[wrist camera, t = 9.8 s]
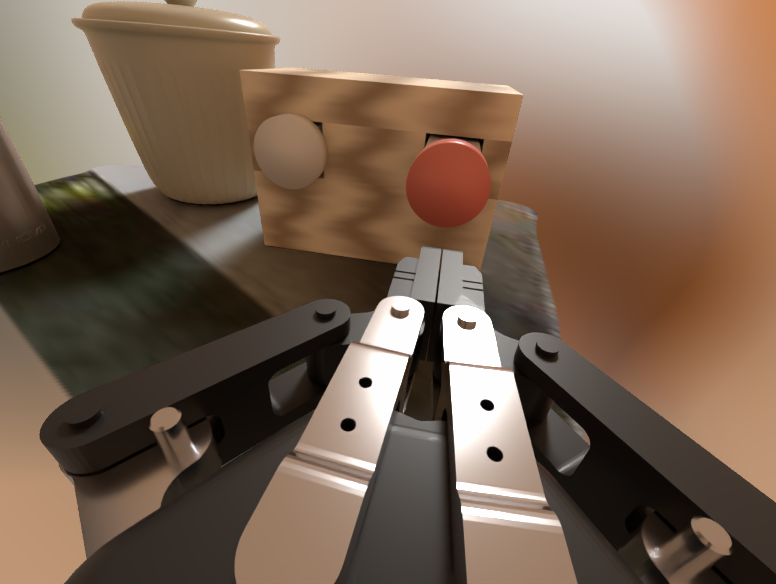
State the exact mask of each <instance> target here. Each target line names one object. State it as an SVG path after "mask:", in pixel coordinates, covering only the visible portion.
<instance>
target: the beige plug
mask: <svg viewBox="0 0 776 584" xmlns="http://www.w3.org/2000/svg"><path fill="white" fill-rule="evenodd" d="M254 153H255V157H256V160H257V163H258V165H259V167H260V168H261V170H262V171H263V173H264V174H265V175H266V176H267V177H268V178H269V179H270V180H271V181H272V182H273V183H275V184H277V185H278V186H280V187H283V188H286V189H292V190H296V189H302V188H304V187H307V186H308V185H310V184H311V183H312V182H313V181H315V180H316V179H317V178H318V177H319V176H320V175H321V174H322V173H323V172H324V169H325V167H326V164H327V159H328V151H327V145H326V142H325V139H324V137H323V129H322V122H314V121H311V120H309V119H308V118H306V117H304V116H302V115H299V114H296V113H284V114H281V115H277V116H274V117H271V118H269V119H267V120H265V121H264V122H263V123H262V124H261V125H260V126H259V128H258V129H257V132H256V134H255V138H254Z"/></svg>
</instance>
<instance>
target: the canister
mask: <svg viewBox="0 0 776 584" xmlns="http://www.w3.org/2000/svg"><path fill="white" fill-rule="evenodd" d="M165 1H166V2H167V4H161V3H148V2H101V3H95V4H92V5H89V6H87V7H86V8H85V9H84V11H83V14H82V18H73V19H72V23H73V24H74V25H75V26H76V27H77V28H79V29H81V30H83V31H84V33H85V35H86V37H87V39H88V41H89V44H90V46H91V48H92V51H93V53H94V55H95V58H96V60H97V63H98V65H99V67H100V70H101V72H102V74H103V76H104V79H105V81H106V83H107V85H108V87H109V90H110V92H111V94H112V96H113V99H114V101H115V103H116V106H117V108H118V110H119V113H120V115H121V117H122V119H123V122H124V124H125V126H126V128H127V130H128V133H129V135H130V137H131V139H132V141H133V143H134V146H135V148H136V150H137V152H138V154H139V156H140V158H141V161H142V163H143V165H144V167H145V169H146V171H147V173H148V175H149V176H150V178H151V180H152V181H153V183H154V184H155V186H156V187H157V188H158V189H159V190H160V191H161V192H162V193H164V194H165V195H167V196H168V197H170V198H172V199H174V200H179V201H181V202H187V203H195V204H223V203H231V202H237V201H243V200H245V199H250V198H251V197H255V196H257V188H256V181H255V174H254V168H253V161H252V154H251V147H250V140H249V133H248V126H247V119H246V112H245V106H244V99H243V92H242V85H241V78H240V71H239V70H251V69H273V68H275V58H274V48H275V45H276V44H278V43H279V42H280V38H279V37H278V36H273V35H271V32H270V31H269V29H268V28H267V27H266V26H265V25H264V24H263V23H261V22H260V21H258V20H255V19H252V18H250V17H246V16H242V15H238V14H234V13H229V12H223V11H218V10H212V9H205V8H198V7H194V5H195V4H196V2H197V0H165Z"/></svg>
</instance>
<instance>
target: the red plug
mask: <svg viewBox="0 0 776 584" xmlns="http://www.w3.org/2000/svg"><path fill="white" fill-rule="evenodd" d="M490 190H491V178H490V173H489V169H488V165H487V162H486V160H485V158H484V156H483V155H482V153H481V148H480V143H479V138H470V137H460V136H451V135H441V134H431V135H430V138H429V140H428V142H427V145H426V147H425V148H424V149H423V150H422V151H421V152H420V153H419V154H418V156H417V157H416V158H415V160H414V162H413V164H412V166H411V168H410V170H409V173H408V176H407V180H406V195H407V199H408V202H409V204H410V206H411V208H412V210H413V211H414V212H415V214H416V215H417V216H418V217H419V218H421V219H422V220H423V221H425V222H426V223H429V224H431V225H433V226H437V227H444V228H450V227H457V226H460V225H463V224H465V223H467V222H469V221H471V220H472V219H474V218H475V217H476V216H477V215H478V214H479V213H480V212H481V211H482V209H483V208H484V206H485V205H486V203H487V201H488V198H489V195H490Z"/></svg>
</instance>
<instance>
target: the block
mask: <svg viewBox="0 0 776 584" xmlns="http://www.w3.org/2000/svg"><path fill="white" fill-rule="evenodd" d="M239 71H240V78H241V85H242V92H243V99H244V106H245V112H246V119H247V126H248V133H249V140H250V147H251V154H252V161H253V168H254V174H255V181H256V188H257V195H258V202H259V209H260V216H261V223H262V229H263V236H264V243H265V245H269V246H275V247H282V248H289V249H296V250H303V251H310V252H317V253H324V254H331V255H338V256H345V257H351V258H358V259H365V260H372V261H379V262H386V263H393V264H398V262H400V261H401V260H402V259H404V258H405V257H412V258H419V257H420V252H421V248H422V246H427V247H434V248H441V256H440V263H441V257H442V251H443V249H449V250H456V251H463V265H468V266H475V267H476V268H477V269H478V270H479V272H480V270H481V265H482V261H483V257H484V253H485V249H486V245H487V241H488V237H489V233H490V229H491V225H492V221H493V217H494V213H495V208H496V204H497V200H498V196H499V192H500V188H501V184H502V180H503V176H504V171H505V168H506V164H507V159H508V155H509V151H510V147H511V143H512V139H513V135H514V131H515V127H516V123H517V119H518V115H519V111H520V107H521V103H522V99H523V95H522V94H521V93H519V92H517V91H516V90H514V89H512V88H511V87H509V86H504V85H492V84H481V83H469V82H457V81H445V80H434V79H422V78H410V77H398V76H386V75H375V74H362V73H352V72H340V71H328V70H316V69H305V68H273V69H251V70H239ZM284 113H296V114H299V115H302V116H304V117H306V118H308V119H309V120H311V121H314V122H322V129H323V137H324V139H325V142H326V145H327V151H328V159H327V164H326V167H325V169H324V172H323V173H322V174H321V175H320V176H319V177H318V178H317V179H316V180H315V181H313V182H312V183H311V184H310V185H308V186H307V187H304V188H302V189H296V190H292V189H286V188H283V187H280V186H278V185H277V184H275V183H273V182H272V181H271V180H270V179H269V178H268V177H267V176H266V175H265V174H264V173H263V171H262V170H261V168H260V167H259V165H258V163H257V160H256V157H255V153H254V138H255V134H256V132H257V129H258V128H259V126H260V125H261V124H262V123H263V122H264V121H265V120H267V119H269V118H271V117H274V116H277V115H281V114H284ZM431 134H441V135H451V136H460V137H470V138H479V143H480V148H481V153H482V155H483V156H484V158H485V160H486V162H487V165H488V169H489V173H490V178H491V190H490V195H489V198H488V201H487V203H486V205H485V206H484V208H483V209H482V211H481V212H480V213H479V214H478V215H477V216H476V217H475V218H474V219H472V220H471V221H469V222H467V223H465V224H463V225H460V226H457V227H450V228H444V227H437V226H433V225H431V224H429V223H426V222H425V221H423V220H422V219H421V218H419V217H418V216H417V215H416V214H415V212H414V211H413V210H412V208H411V206H410V204H409V202H408V199H407V195H406V180H407V176H408V173H409V170H410V168H411V166H412V164H413V162H414V160H415V158H416V157H417V156H418V154H419V153H420V152H421V151H422V150H423V149H424V148H425V147H426V145H427V142H428V140H429V138H430V135H431ZM439 269H440V264H439Z"/></svg>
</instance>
